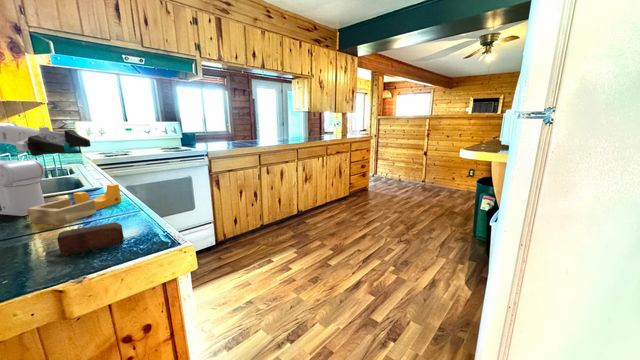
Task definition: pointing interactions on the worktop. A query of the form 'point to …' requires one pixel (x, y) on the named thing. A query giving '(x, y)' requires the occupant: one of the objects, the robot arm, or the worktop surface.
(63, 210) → the wooden open tray
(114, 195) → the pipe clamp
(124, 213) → the worktop surface
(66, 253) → the brick
